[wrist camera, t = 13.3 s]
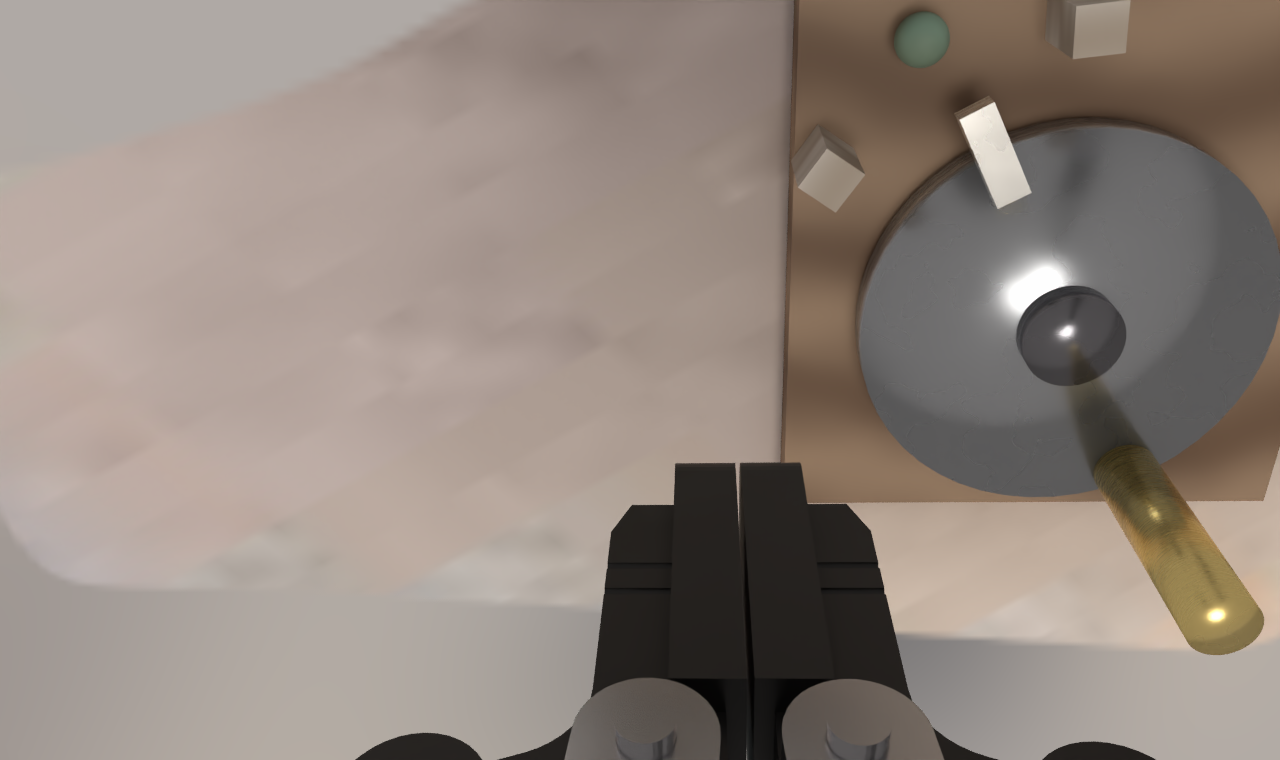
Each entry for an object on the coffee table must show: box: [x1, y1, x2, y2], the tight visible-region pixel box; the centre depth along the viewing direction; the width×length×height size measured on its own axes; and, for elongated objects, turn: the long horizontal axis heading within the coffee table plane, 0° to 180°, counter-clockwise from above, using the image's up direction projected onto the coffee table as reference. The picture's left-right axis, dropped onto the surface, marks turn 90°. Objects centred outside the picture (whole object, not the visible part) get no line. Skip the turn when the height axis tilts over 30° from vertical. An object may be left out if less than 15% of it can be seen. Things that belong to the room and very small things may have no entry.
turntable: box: [781, 0, 1280, 503], centre depth 39 cm, size 22×20×5 cm
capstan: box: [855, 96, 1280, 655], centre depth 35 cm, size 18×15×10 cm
